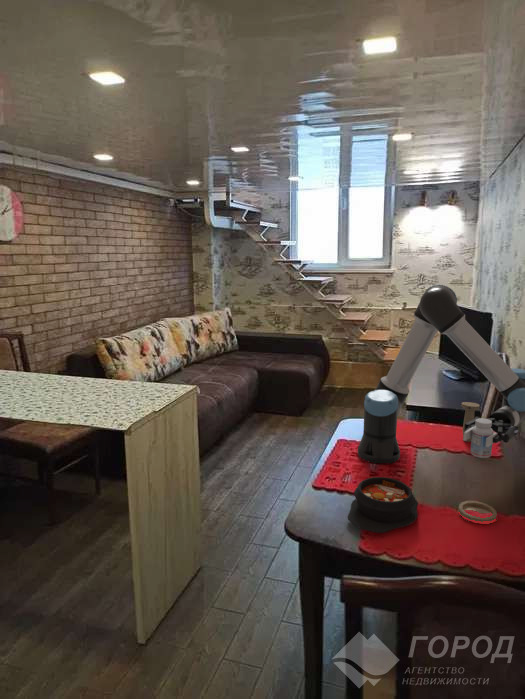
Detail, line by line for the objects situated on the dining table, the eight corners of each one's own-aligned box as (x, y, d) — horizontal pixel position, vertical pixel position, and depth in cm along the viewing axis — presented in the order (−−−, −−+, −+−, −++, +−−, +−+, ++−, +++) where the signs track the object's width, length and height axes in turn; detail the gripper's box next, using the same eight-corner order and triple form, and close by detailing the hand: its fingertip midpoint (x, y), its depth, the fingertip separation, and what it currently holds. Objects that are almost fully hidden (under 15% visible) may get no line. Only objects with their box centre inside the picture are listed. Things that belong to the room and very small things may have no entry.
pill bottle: (489, 451, 156) (493, 418, 154) (491, 459, 151) (495, 425, 148) (469, 449, 158) (472, 416, 156) (470, 457, 153) (474, 423, 150)
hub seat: (466, 524, 136) (466, 520, 136) (452, 505, 146) (452, 500, 146) (503, 524, 136) (504, 519, 136) (486, 504, 146) (487, 500, 146)
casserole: (376, 488, 156) (377, 464, 155) (432, 509, 144) (434, 483, 142) (331, 521, 138) (332, 494, 137) (391, 548, 126) (393, 519, 124)
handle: (475, 444, 189) (478, 407, 186) (457, 441, 193) (460, 404, 189) (476, 440, 193) (480, 403, 190) (459, 436, 197) (462, 401, 193)
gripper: (532, 438, 160) (507, 460, 144) (474, 423, 173) (444, 442, 157) (535, 416, 158) (510, 436, 142) (476, 403, 171) (446, 420, 155)
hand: (475, 439), depth 150 cm, fingers closed on pill bottle, 6 cm apart
